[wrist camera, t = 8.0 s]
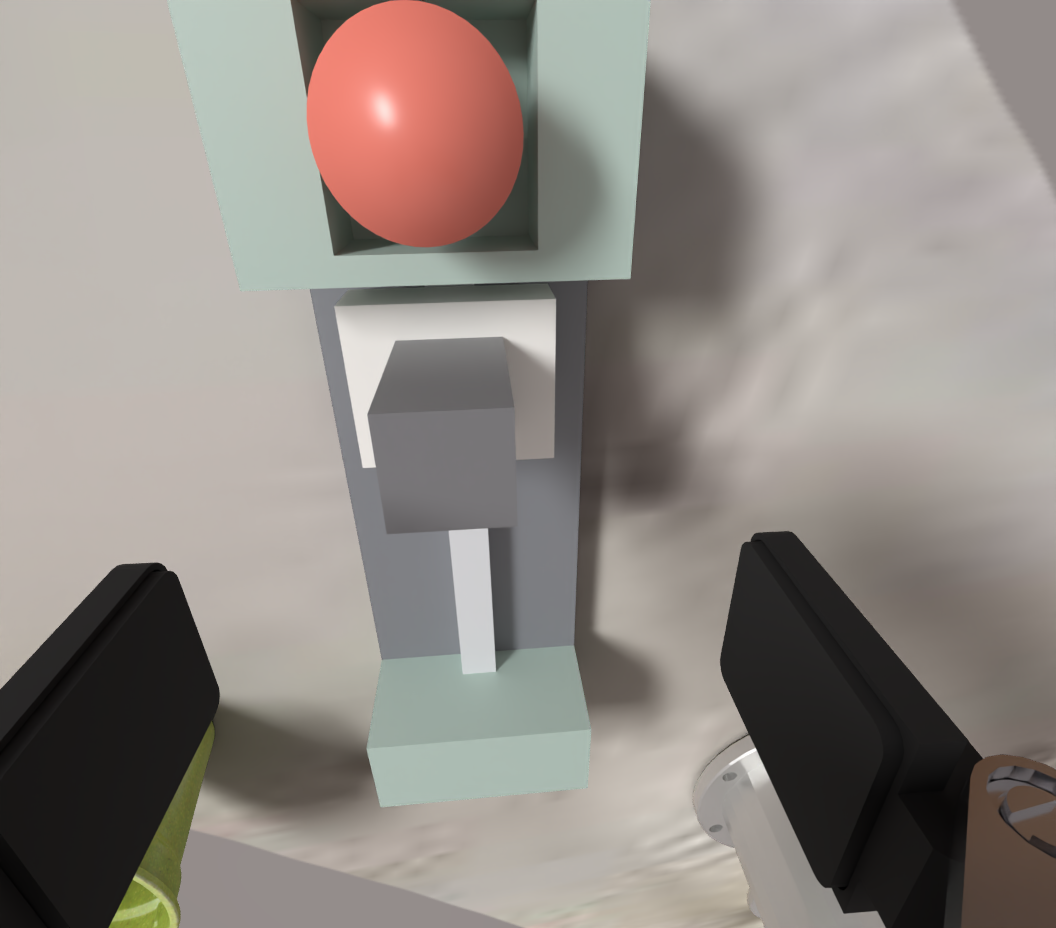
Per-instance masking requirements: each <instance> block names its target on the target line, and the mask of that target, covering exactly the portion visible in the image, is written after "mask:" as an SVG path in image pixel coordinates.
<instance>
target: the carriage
mask: <svg viewBox="0 0 1056 928" xmlns="http://www.w3.org/2000/svg"><path fill="white" fill-rule="evenodd" d="M334 308H335V314H336V319H337V325H338V331H339V336H340V342H341V348H342V353H343V359H344V365H345V370H346V376H347V382H348V387H349V393H350V399H351V404H352V410H353V416H354V421H355V427H356V433H357V438H358V444H359V450H360V455H361V461H362V467H363V468H373V467H376V472H377V478H378V484H379V490H380V496H381V502H382V508H383V514H384V520H385V526H386V533H387V534H401V533H418V532H434V531H451V530H467V529H484V528H500V527H516V526H518V521H517V483H516V460H525V459H544V458H554V433H555V345H556V298H555V296H554V294H553V292H552V291H551V289H550V287H549V285H548V283H547V284H515V285H484V286H452V287H420V288H388V289H357V290H347V292H346V293H345V294H344V295H343V296H342V298H341V299H340V300H339V301H338V302H337V304H336V305H335V306H334Z"/></svg>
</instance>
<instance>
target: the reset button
mask: <svg viewBox="0 0 1056 928" xmlns="http://www.w3.org/2000/svg"><path fill="white" fill-rule="evenodd" d="M307 127H308V136H309V140H310V145H311V149H312V153H313V156H314V159H315V161H316V164H317V167H318V169H319V171H320V173H321V176H322V178H323V180H324V182H325V183H326V185H327V187H328V188H329V190H330V191H331V193H332V195H333V196H334V197H335V199H336V200H337V201H338V202H339V204H340V205H341V206H342V207H343V208H344V209H345V210H346V211H347V212H348V213H349V214H350V215H351V217H352V218H354V219H355V220H356V221H357V222H359V223H360V224H361V225H362V226H364V227H365V228H367V229H368V230H370V231H371V232H373V233H375V234H376V235H378V236H381V237H383V238H385V239H387V240H389V241H392V242H396V243H399V244H402V245H407V246H413V247H437V246H443V245H448V244H452V243H455V242H457V241H460V240H462V239H465V238H467V237H468V236H470V235H472V234H474V233H475V232H477V231H478V230H480V229H481V228H482V227H483V226H485V225H486V224H487V223H488V222H489V221H490V220H491V219H492V218H493V217H494V216H495V215H496V214H497V213H498V211H499V210H500V209H501V207H502V206H503V205H504V203H505V201H506V200H507V198H508V196H509V194H510V193H511V191H512V188H513V186H514V183H515V181H516V179H517V175H518V171H519V168H520V164H521V158H522V152H523V136H524V132H523V118H522V112H521V107H520V101H519V98H518V95H517V91H516V88H515V85H514V83H513V80H512V78H511V76H510V73H509V71H508V69H507V67H506V66H505V64H504V62H503V60H502V59H501V57H500V55H499V54H498V53H497V51H496V50H495V49H494V47H493V46H492V45H491V43H490V42H489V41H488V40H487V39H486V38H485V37H484V36H483V35H482V34H481V33H480V32H479V31H478V30H477V29H476V28H475V27H474V26H472V25H471V24H470V23H469V22H467V21H466V20H465V19H463V18H462V17H460V16H458V15H456V14H455V13H453V12H451V11H449V10H447V9H445V8H442V7H440V6H437V5H434V4H430V3H426V2H422V1H414V0H396V1H388V2H384V3H380V4H376V5H373V6H371V7H369V8H366V9H364V10H362V11H360V12H358V13H357V14H355V15H354V16H352V17H351V18H349V19H348V20H347V21H346V22H345V23H343V24H342V25H341V26H340V27H339V28H338V29H337V30H336V31H335V32H334V34H333V35H332V36H331V38H330V39H329V40H328V41H327V43H326V44H325V46H324V48H323V50H322V51H321V53H320V55H319V57H318V59H317V62H316V64H315V67H314V69H313V72H312V76H311V80H310V84H309V89H308V97H307Z"/></svg>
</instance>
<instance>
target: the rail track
mask: <svg viewBox="0 0 1056 928" xmlns="http://www.w3.org/2000/svg"><path fill="white" fill-rule="evenodd" d="M388 1H396V0H167V3H168V7H169V10H170V14H171V18H172V22H173V26H174V30H175V34H176V38H177V42H178V46H179V50H180V54H181V58H182V62H183V66H184V70H185V74H186V78H187V82H188V86H189V90H190V93H191V97H192V101H193V105H194V109H195V113H196V117H197V121H198V125H199V129H200V133H201V137H202V141H203V145H204V149H205V153H206V157H207V161H208V165H209V169H210V173H211V176H212V180H213V184H214V188H215V192H216V196H217V200H218V204H219V208H220V212H221V216H222V220H223V224H224V228H225V232H226V236H227V240H228V244H229V248H230V252H231V256H232V260H233V263H234V267H235V271H236V275H237V279H238V283H239V287H240V291H260V290H292V289H310V293H311V298H312V303H313V308H314V313H315V318H316V324H317V329H318V334H319V339H320V344H321V349H322V354H323V360H324V365H325V370H326V375H327V380H328V385H329V390H330V396H331V401H332V406H333V411H334V416H335V421H336V426H337V432H338V437H339V442H340V447H341V452H342V457H343V462H344V467H345V473H346V478H347V483H348V488H349V493H350V498H351V503H352V509H353V514H354V519H355V524H356V529H357V534H358V539H359V545H360V550H361V555H362V560H363V565H364V570H365V575H366V580H367V586H368V591H369V596H370V601H371V606H372V611H373V616H374V622H375V627H376V632H377V637H378V642H379V647H380V652H381V658H382V662H381V668H380V674H379V680H378V686H377V691H376V697H375V703H374V709H373V715H372V720H371V726H370V732H369V738H368V744H367V753H368V757H369V761H370V765H371V769H372V774H373V778H374V782H375V786H376V790H377V795H378V799H379V803H380V807H390V806H400V805H411V804H422V803H433V802H443V801H454V800H465V799H476V798H486V797H497V796H508V795H519V794H529V793H540V792H551V791H562V790H572V789H583V788H588V773H589V757H590V742H591V726H590V721H589V716H588V711H587V706H586V701H585V696H584V692H583V687H582V682H581V677H580V672H579V667H578V662H577V657H576V652H575V648H574V633H575V606H576V579H577V553H578V526H579V499H580V473H581V446H582V419H583V393H584V366H585V339H586V312H587V286H588V280H612V279H630V278H631V264H632V250H633V236H634V223H635V209H636V195H637V181H638V168H639V154H640V140H641V127H642V113H643V99H644V85H645V72H646V58H647V44H648V30H649V17H650V3H651V0H414V1H422V2H426V3H430V4H434V5H437V6H440V7H442V8H445V9H447V10H449V11H451V12H453V13H455V14H456V15H458V16H460V17H462V18H463V19H465V20H466V21H467V22H469V23H470V24H471V25H472V26H474V27H475V28H476V29H477V30H478V31H479V32H480V33H481V34H482V35H483V36H484V37H485V38H486V39H487V40H488V41H489V42H490V43H491V45H492V46H493V47H494V49H495V50H496V51H497V53H498V54H499V55H500V57H501V59H502V60H503V62H504V64H505V66H506V67H507V69H508V71H509V73H510V76H511V78H512V80H513V83H514V85H515V88H516V91H517V95H518V98H519V101H520V107H521V112H522V118H523V132H524V136H523V152H522V158H521V164H520V168H519V171H518V175H517V179H516V181H515V183H514V186H513V188H512V191H511V193H510V194H509V196H508V198H507V200H506V201H505V203H504V205H503V206H502V207H501V209H500V210H499V211H498V213H497V214H496V215H495V216H494V217H493V218H492V219H491V220H490V221H489V222H488V223H487V224H486V225H485V226H483V227H482V228H481V229H480V230H478V231H477V232H475V233H474V234H472V235H470V236H468V237H467V238H465V239H462V240H460V241H457V242H455V243H452V244H448V245H443V246H437V247H413V246H407V245H402V244H399V243H396V242H392V241H389V240H387V239H385V238H383V237H381V236H378V235H376V234H375V233H373V232H371V231H370V230H368V229H367V228H365V227H364V226H362V225H361V224H360V223H359V222H357V221H356V220H355V219H354V218H352V217H351V215H350V214H349V213H348V212H347V211H346V210H345V209H344V208H343V207H342V206H341V205H340V204H339V202H338V201H337V200H336V199H335V197H334V196H333V195H332V193H331V191H330V190H329V188H328V187H327V185H326V183H325V182H324V180H323V178H322V176H321V173H320V171H319V169H318V167H317V164H316V161H315V159H314V156H313V153H312V149H311V145H310V140H309V136H308V127H307V97H308V89H309V84H310V80H311V76H312V72H313V69H314V67H315V64H316V62H317V59H318V57H319V55H320V53H321V51H322V50H323V48H324V46H325V44H326V43H327V41H328V40H329V39H330V38H331V36H332V35H333V34H334V32H335V31H336V30H337V29H338V28H339V27H340V26H341V25H342V24H343V23H345V22H346V21H347V20H348V19H349V18H351V17H352V16H354V15H355V14H357V13H358V12H360V11H362V10H364V9H366V8H369V7H371V6H373V5H376V4H380V3H384V2H388ZM547 283H548V285H549V287H550V289H551V291H552V292H553V294H554V296H555V298H556V345H555V433H554V458H544V459H525V460H516V483H517V521H518V526H516V527H500V528H484V529H467V530H451V531H434V532H418V533H401V534H387V533H386V526H385V520H384V514H383V508H382V502H381V496H380V490H379V484H378V478H377V472H376V467H373V468H363V467H362V461H361V455H360V450H359V444H358V438H357V433H356V427H355V421H354V416H353V410H352V404H351V399H350V393H349V387H348V382H347V376H346V370H345V365H344V359H343V353H342V348H341V342H340V336H339V331H338V325H337V319H336V314H335V308H334V306H335V305H336V304H337V302H338V301H339V300H340V299H341V298H342V296H343V295H344V294H345V293H346V292H347V290H357V289H388V288H420V287H452V286H484V285H515V284H547Z"/></svg>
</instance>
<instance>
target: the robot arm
mask: <svg viewBox="0 0 1056 928" xmlns="http://www.w3.org/2000/svg"><path fill="white" fill-rule="evenodd" d="M720 666H721V672H722V676H723V679H724V681H725V683H726V685H727V688H728V690H729V692H730V694H731V696H732V698H733V701H734V703H735V705H736V707H737V709H738V711H739V714H740V716H741V718H742V720H743V722H744V724H745V726H746V729H747V731H748V733H749V735H748V736H746V737H744V738H743V739H741V740H739V741H737V742H736V743H734V744H732V745H731V746H729V747H728V748H727V749H725V750H724V751H723V752H721V753H720V754H719V755H717V756H716V757H715V758H714V760H713V761H712V762H711V763H710V764H709V765H708V766H707V767H706V768H705V770H704V771H703V773H702V774H701V776H700V777H699V779H698V780H697V783H696V786H695V789H694V791H693V805H694V809H695V812H696V815H697V819H698V821H699V823H700V825H701V827H702V829H703V830H704V831H705V832H706V833H707V834H708V835H709V836H710V837H711V838H713V839H714V840H716V841H718V842H720V843H721V844H724V845H727V846H730V847H733V848H735V850H736V853H737V855H738V858H739V861H740V863H741V866H742V869H743V871H744V874H745V877H746V879H747V882H748V885H749V887H750V888H749V891H748V894H747V902H748V905H749V908H750V910H751V911H752V912H753V913H754V914H755V916H757V917H759V918H761V919H762V922H763V925H764V927H765V928H1056V769H1054V768H1052V767H1050V766H1048V765H1046V764H1043V763H1040V762H1037V761H1034V760H1031V759H1028V758H1025V757H1020V756H1012V755H1004V754H1000V755H994V756H988V757H985V758H982V757H981V756H980V755H979V753H978V752H977V751H976V750H975V749H974V747H973V746H972V745H971V744H970V743H969V741H968V739H967V738H966V737H965V736H964V735H963V733H962V732H961V731H960V730H959V729H958V728H957V726H956V725H955V724H954V723H953V722H952V720H951V719H950V718H949V717H948V716H947V714H946V713H945V712H944V711H943V710H942V709H941V707H940V706H939V705H938V704H937V703H936V701H935V700H934V699H933V698H932V697H931V695H930V694H929V693H928V692H927V691H926V689H925V688H924V687H923V686H922V685H921V684H920V682H919V681H918V680H917V679H916V678H915V676H914V675H913V674H912V673H911V672H910V670H909V669H908V668H907V667H906V666H905V665H904V663H903V662H902V661H901V660H900V659H899V657H898V656H897V655H896V654H895V653H894V651H893V650H892V649H891V648H890V647H889V646H888V644H887V643H886V642H885V641H884V640H883V638H882V637H881V636H880V635H879V634H878V632H877V631H876V630H875V629H874V628H873V626H872V625H871V624H870V623H869V622H868V621H867V619H866V618H865V617H864V616H863V615H862V613H861V612H860V611H859V610H858V609H857V607H856V606H855V605H854V604H853V603H852V602H851V600H850V599H849V598H848V597H847V596H846V594H845V593H844V592H843V591H842V590H841V588H840V587H839V586H838V585H837V584H836V583H835V581H834V580H833V579H832V578H831V577H830V575H829V574H828V573H827V572H826V571H825V569H824V568H823V567H822V566H821V565H820V563H819V562H818V561H817V560H816V559H815V558H814V556H813V555H812V554H811V553H810V552H809V550H808V549H807V548H806V547H805V546H804V544H803V543H802V542H801V541H800V540H799V539H798V537H797V536H796V535H795V534H794V533H792V532H789V531H783V532H763V533H756V534H754V535H753V537H752V539H751V542H745V543H744V544H743V545H742V548H741V552H740V557H739V562H738V567H737V573H736V578H735V583H734V588H733V594H732V599H731V604H730V609H729V615H728V620H727V625H726V631H725V636H724V641H723V646H722V652H721V658H720ZM219 698H220V692H219V687H218V684H217V681H216V679H215V676H214V673H213V670H212V668H211V665H210V662H209V660H208V657H207V654H206V652H205V649H204V646H203V643H202V641H201V638H200V635H199V633H198V630H197V627H196V625H195V622H194V619H193V617H192V614H191V611H190V608H189V606H188V603H187V600H186V598H185V595H184V592H183V590H182V587H181V584H180V581H179V579H178V577H177V575H176V574H175V573H174V572H172V571H167V569H166V567H165V566H164V565H162V564H160V563H139V564H122V565H118V566H116V567H115V568H114V569H112V570H111V571H110V572H109V574H108V575H107V576H106V577H105V578H104V579H103V580H102V581H101V582H100V583H99V584H98V585H97V586H96V587H95V589H94V590H93V591H92V592H91V593H90V594H89V595H88V596H87V597H86V598H85V599H84V600H83V601H82V602H81V604H80V605H79V606H78V607H77V608H76V609H75V610H74V611H73V612H72V613H71V614H70V615H69V616H68V617H67V619H66V620H65V621H64V622H63V623H62V624H61V625H60V626H59V627H58V628H57V629H56V630H55V631H54V632H53V634H52V635H51V636H50V637H49V638H48V639H47V640H46V641H45V642H44V643H43V644H42V645H41V646H40V647H39V649H38V650H37V651H36V652H35V653H34V654H33V655H32V656H31V657H30V658H29V659H28V660H27V661H26V662H25V664H24V665H23V666H22V667H21V668H20V669H19V670H18V671H17V672H16V673H15V674H14V675H13V676H12V678H11V679H10V680H9V681H8V682H7V683H6V684H5V685H4V686H3V687H2V688H1V689H0V928H109V926H110V924H111V922H112V920H113V918H114V916H115V914H116V912H117V910H118V908H119V906H120V904H121V902H122V900H123V898H124V896H125V894H126V892H127V890H128V888H129V886H130V884H131V882H132V880H133V878H134V876H135V874H136V872H137V870H138V868H139V866H140V864H141V862H142V860H143V858H144V856H145V854H146V852H147V850H148V848H149V846H150V844H151V842H152V840H153V838H154V836H155V834H156V832H157V830H158V828H159V826H160V824H161V822H162V820H163V818H164V816H165V814H166V812H167V810H168V808H169V806H170V804H171V802H172V800H173V798H174V796H175V794H176V792H177V790H178V788H179V786H180V784H181V782H182V780H183V777H184V775H185V773H186V771H187V769H188V767H189V765H190V763H191V761H192V759H193V757H194V755H195V753H196V751H197V749H198V747H199V745H200V743H201V741H202V739H203V737H204V735H205V733H206V731H207V729H208V727H209V725H210V723H211V721H212V719H213V717H214V715H215V713H216V711H217V708H218V704H219Z"/></svg>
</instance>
